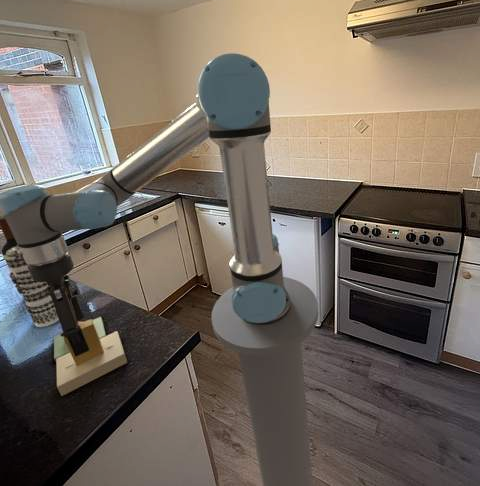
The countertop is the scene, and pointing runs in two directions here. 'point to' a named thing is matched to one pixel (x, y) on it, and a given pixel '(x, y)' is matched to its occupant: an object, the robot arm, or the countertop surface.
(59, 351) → the green push button box
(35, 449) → the countertop surface
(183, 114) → the robot arm
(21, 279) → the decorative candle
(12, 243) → the wine bottle
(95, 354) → the thumbturn
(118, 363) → the plate
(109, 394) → the countertop surface
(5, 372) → the countertop surface
